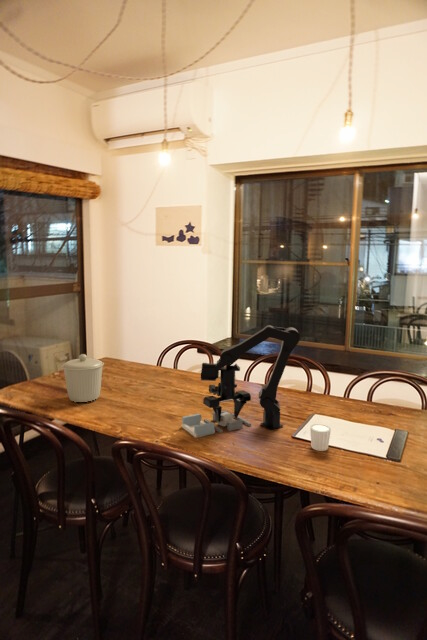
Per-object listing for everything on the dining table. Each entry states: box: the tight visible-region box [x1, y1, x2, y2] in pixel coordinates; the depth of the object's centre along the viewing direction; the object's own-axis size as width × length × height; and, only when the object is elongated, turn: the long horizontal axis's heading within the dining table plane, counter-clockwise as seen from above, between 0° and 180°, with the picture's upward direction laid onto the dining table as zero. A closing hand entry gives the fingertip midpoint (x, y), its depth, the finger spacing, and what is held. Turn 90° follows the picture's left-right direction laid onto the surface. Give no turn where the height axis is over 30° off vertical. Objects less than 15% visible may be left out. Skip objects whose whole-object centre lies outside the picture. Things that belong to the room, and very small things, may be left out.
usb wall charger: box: [216, 411, 235, 427], centre depth 165 cm, size 4×7×4 cm, turn 134°
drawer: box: [181, 413, 216, 439], centre depth 159 cm, size 11×8×4 cm
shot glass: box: [309, 423, 332, 452], centre depth 145 cm, size 7×7×7 cm
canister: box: [61, 353, 105, 403], centre depth 191 cm, size 18×18×21 cm
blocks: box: [203, 409, 252, 434], centre depth 165 cm, size 12×14×3 cm
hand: (227, 419), depth 165 cm, fingers closed on usb wall charger, 7 cm apart
